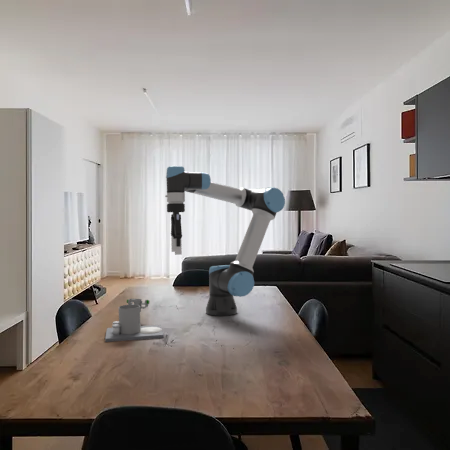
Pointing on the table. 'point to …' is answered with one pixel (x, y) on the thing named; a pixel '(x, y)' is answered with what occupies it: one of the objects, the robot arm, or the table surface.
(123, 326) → the cup
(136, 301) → the mechanical component
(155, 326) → the board
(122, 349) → the table surface
